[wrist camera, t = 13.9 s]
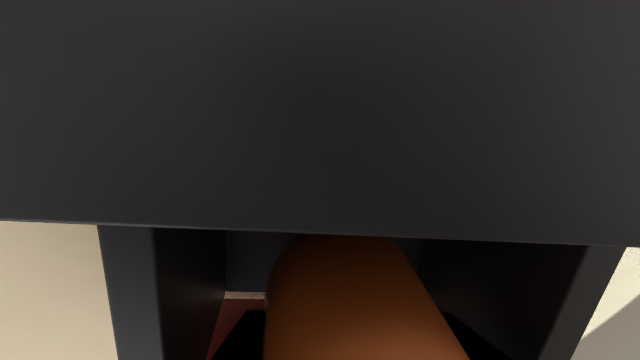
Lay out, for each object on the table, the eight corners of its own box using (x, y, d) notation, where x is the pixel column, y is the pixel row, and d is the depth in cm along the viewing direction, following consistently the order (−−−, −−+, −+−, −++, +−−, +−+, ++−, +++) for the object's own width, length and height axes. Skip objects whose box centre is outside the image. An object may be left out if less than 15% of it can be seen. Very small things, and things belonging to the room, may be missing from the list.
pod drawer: (403, 386, 16) (477, 593, 10) (200, 390, 15) (133, 631, 8) (497, 35, 10) (815, -17, 4) (183, -6, 9) (-50, -173, 3)
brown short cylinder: (428, 312, 9) (534, 496, 5) (304, 364, 10) (315, 576, 6) (382, 200, 8) (480, 335, 4) (237, 264, 8) (187, 454, 4)
